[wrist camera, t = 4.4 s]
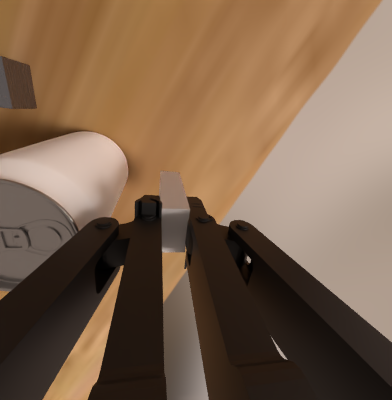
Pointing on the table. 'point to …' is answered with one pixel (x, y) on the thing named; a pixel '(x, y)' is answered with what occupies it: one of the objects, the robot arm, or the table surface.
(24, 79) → the slot guide
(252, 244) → the robot arm
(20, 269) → the can
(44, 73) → the table surface
